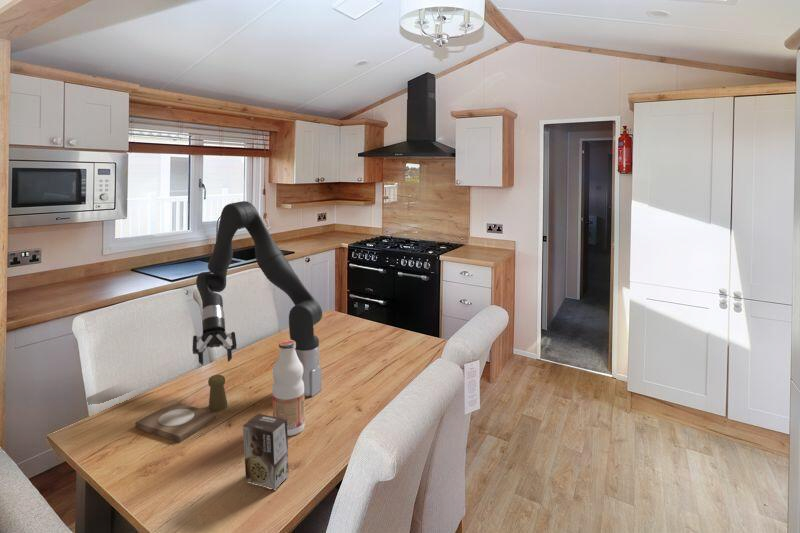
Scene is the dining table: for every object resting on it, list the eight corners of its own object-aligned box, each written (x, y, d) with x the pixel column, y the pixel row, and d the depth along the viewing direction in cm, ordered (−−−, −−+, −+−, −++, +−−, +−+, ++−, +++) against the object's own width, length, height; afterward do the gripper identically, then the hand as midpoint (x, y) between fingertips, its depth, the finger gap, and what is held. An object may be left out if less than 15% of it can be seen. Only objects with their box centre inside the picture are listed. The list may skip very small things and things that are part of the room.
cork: (231, 403, 152) (229, 373, 150) (222, 412, 146) (220, 381, 144) (214, 402, 153) (212, 371, 150) (204, 411, 147) (202, 379, 144)
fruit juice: (284, 440, 131) (282, 350, 126) (267, 428, 138) (264, 342, 132) (311, 428, 138) (310, 342, 133) (293, 417, 144) (292, 334, 139)
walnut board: (216, 419, 142) (216, 412, 142) (180, 442, 129) (179, 435, 129) (174, 407, 148) (173, 400, 148) (135, 428, 136) (135, 421, 135)
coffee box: (289, 476, 116) (288, 419, 113) (275, 491, 110) (273, 432, 107) (260, 467, 119) (258, 412, 116) (244, 482, 113) (241, 424, 110)
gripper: (191, 317, 157) (192, 360, 149) (234, 313, 162) (237, 355, 154) (192, 327, 162) (193, 369, 154) (234, 323, 168) (237, 363, 160)
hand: (215, 362), depth 154 cm, fingers open, 8 cm apart
